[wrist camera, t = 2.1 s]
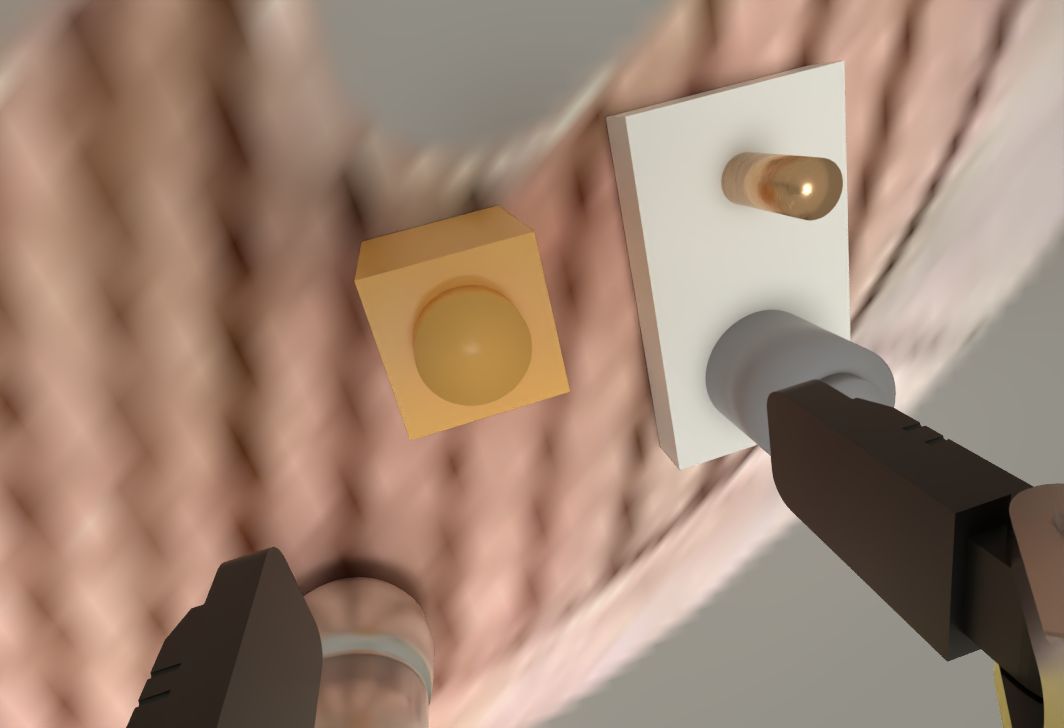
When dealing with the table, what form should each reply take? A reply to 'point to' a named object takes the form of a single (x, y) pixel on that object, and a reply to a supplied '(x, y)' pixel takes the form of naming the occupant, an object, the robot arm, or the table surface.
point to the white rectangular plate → (725, 236)
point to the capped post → (787, 368)
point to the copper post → (783, 184)
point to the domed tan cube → (461, 319)
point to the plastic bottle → (372, 655)
